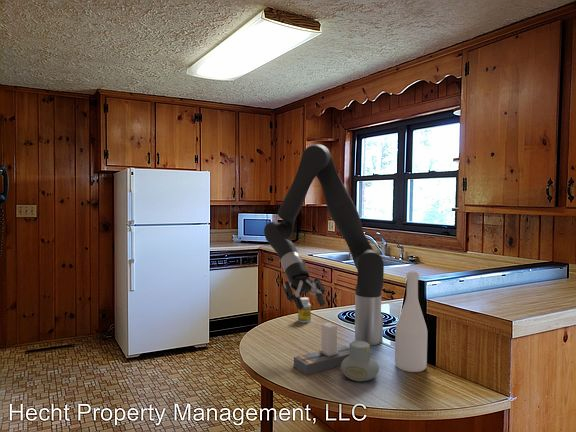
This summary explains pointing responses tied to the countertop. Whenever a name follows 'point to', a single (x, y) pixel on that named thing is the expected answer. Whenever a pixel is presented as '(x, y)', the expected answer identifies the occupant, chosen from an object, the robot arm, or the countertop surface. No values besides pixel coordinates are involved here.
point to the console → (320, 360)
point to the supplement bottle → (305, 311)
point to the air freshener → (359, 363)
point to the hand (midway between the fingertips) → (312, 307)
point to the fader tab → (329, 340)
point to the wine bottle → (411, 331)
